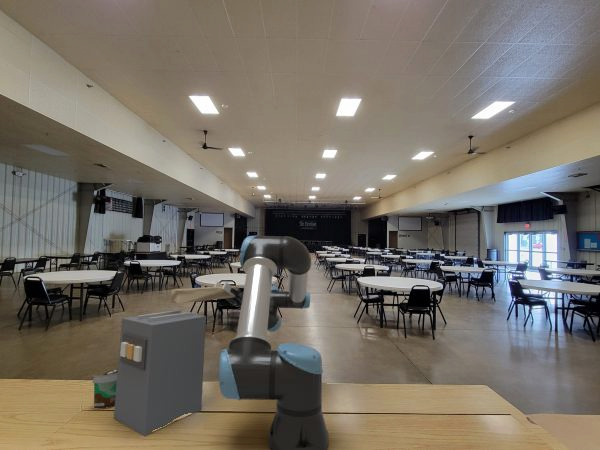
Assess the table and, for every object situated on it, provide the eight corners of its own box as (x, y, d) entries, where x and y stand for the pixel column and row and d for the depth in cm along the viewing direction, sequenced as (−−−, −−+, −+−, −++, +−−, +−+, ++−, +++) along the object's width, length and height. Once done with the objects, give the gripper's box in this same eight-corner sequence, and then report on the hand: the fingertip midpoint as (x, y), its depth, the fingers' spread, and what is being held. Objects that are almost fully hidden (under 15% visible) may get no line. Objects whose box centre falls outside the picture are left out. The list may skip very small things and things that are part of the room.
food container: (107, 413, 93) (110, 377, 94) (89, 410, 94) (92, 376, 95) (136, 396, 105) (138, 364, 106) (120, 394, 106) (123, 363, 107)
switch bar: (238, 296, 120) (238, 286, 120) (178, 303, 98) (179, 290, 99) (230, 296, 122) (231, 285, 122) (171, 302, 100) (171, 289, 101)
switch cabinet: (201, 409, 96) (206, 313, 99) (139, 438, 80) (148, 322, 83) (169, 396, 105) (175, 308, 108) (108, 420, 89) (117, 315, 92)
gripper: (268, 322, 124) (232, 296, 108) (237, 317, 133) (199, 292, 118) (274, 304, 128) (240, 276, 112) (244, 300, 137) (208, 275, 122)
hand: (219, 285), depth 115 cm, fingers closed on switch bar, 4 cm apart
